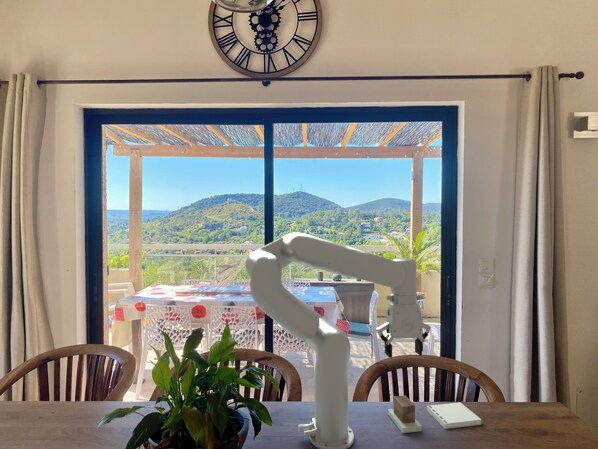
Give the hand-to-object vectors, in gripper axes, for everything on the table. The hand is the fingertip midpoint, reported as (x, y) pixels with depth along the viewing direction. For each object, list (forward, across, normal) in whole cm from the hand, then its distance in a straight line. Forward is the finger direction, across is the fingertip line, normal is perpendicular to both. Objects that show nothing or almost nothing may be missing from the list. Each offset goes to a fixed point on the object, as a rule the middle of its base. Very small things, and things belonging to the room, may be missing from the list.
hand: (403, 355), depth 104 cm
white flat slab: (+21, +16, 0) cm, 26 cm away
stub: (+21, 0, 0) cm, 21 cm away
